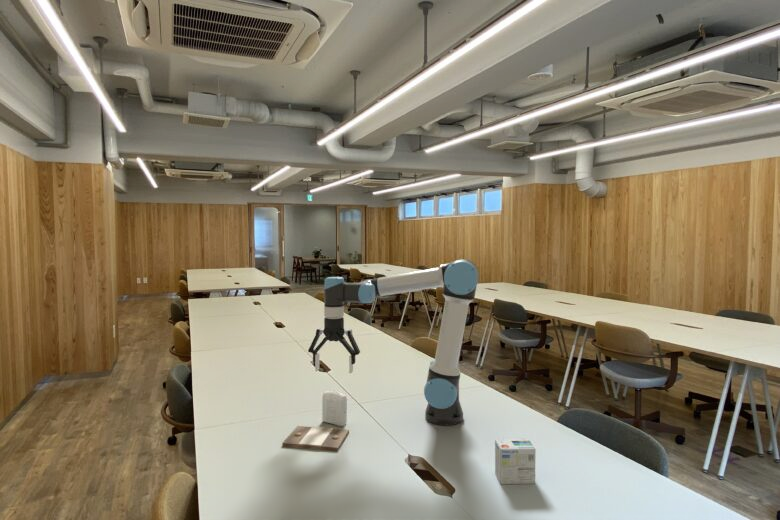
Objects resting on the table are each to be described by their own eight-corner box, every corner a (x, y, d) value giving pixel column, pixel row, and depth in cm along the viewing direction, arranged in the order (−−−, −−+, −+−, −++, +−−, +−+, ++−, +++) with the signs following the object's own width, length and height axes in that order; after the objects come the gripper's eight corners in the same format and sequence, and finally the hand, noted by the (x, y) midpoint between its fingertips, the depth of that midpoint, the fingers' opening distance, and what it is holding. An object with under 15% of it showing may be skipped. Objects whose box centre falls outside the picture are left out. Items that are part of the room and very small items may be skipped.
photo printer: (348, 423, 170) (348, 392, 170) (342, 427, 167) (341, 395, 166) (327, 418, 175) (327, 387, 175) (320, 421, 172) (320, 390, 171)
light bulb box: (528, 472, 135) (528, 437, 134) (536, 484, 128) (536, 448, 128) (493, 472, 134) (494, 438, 134) (500, 485, 128) (500, 449, 127)
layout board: (348, 433, 162) (349, 429, 162) (338, 451, 148) (338, 446, 148) (297, 428, 165) (297, 425, 165) (282, 446, 151) (282, 442, 151)
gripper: (367, 316, 170) (367, 370, 172) (306, 314, 175) (307, 366, 176) (363, 320, 163) (363, 376, 164) (299, 317, 167) (300, 372, 168)
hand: (334, 371), depth 170 cm, fingers open, 13 cm apart
